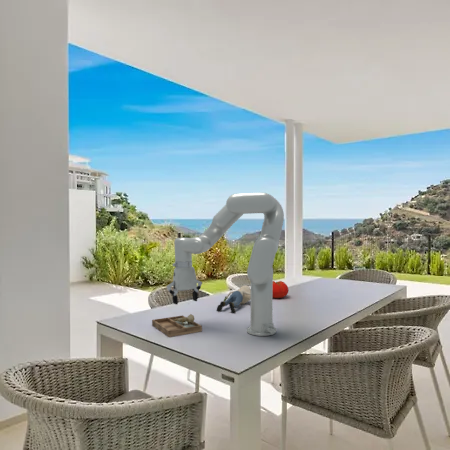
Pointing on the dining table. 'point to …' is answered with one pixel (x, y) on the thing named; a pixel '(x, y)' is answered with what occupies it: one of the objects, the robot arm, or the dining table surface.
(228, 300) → the toy
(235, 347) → the dining table surface
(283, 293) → the tomato
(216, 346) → the dining table surface
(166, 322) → the wooden compartment tray
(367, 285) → the dining table surface
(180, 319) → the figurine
